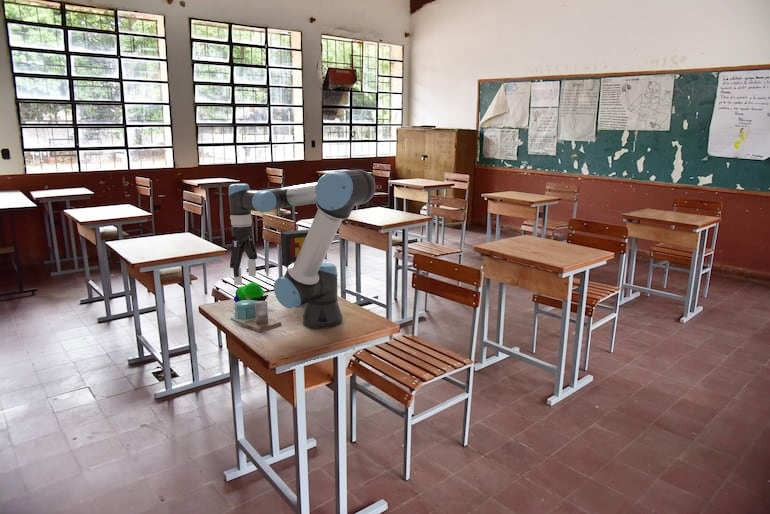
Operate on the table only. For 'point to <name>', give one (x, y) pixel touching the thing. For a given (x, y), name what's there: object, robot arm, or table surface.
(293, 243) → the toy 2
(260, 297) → the toy
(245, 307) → the cap
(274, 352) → the table surface
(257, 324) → the post stand
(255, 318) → the mat
